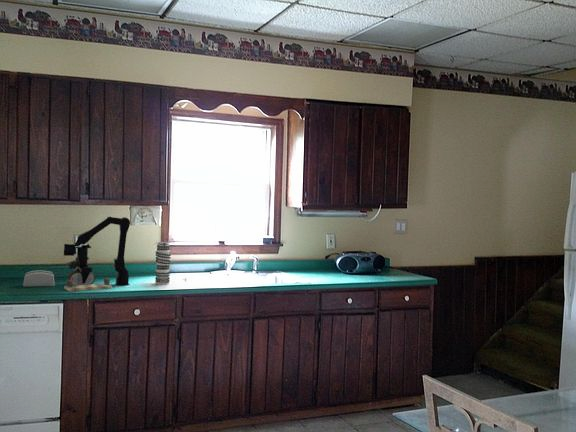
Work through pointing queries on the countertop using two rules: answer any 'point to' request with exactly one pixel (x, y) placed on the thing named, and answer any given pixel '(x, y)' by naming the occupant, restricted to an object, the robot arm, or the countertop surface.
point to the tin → (78, 278)
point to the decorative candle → (162, 263)
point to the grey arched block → (39, 278)
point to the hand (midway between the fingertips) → (81, 282)
